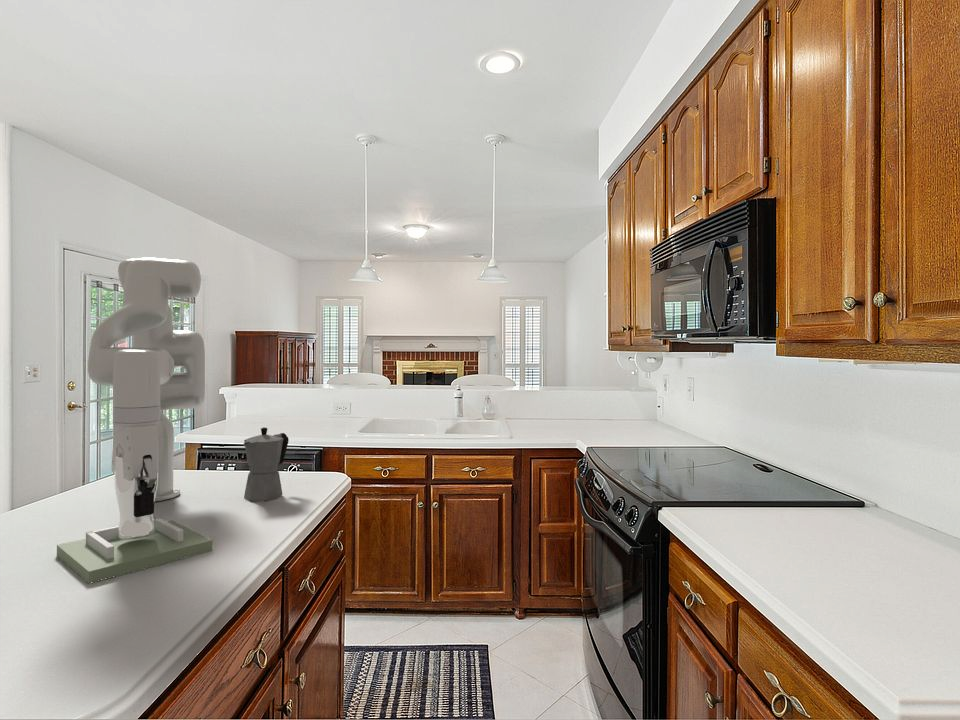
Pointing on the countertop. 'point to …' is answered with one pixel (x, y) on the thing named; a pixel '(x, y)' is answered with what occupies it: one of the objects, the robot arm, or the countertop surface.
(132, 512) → the beer glass
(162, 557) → the plate
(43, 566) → the countertop surface
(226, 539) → the countertop surface
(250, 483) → the coffeepot
